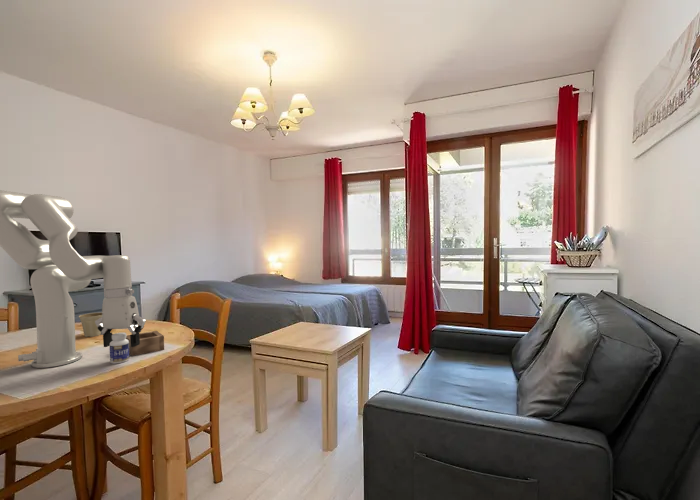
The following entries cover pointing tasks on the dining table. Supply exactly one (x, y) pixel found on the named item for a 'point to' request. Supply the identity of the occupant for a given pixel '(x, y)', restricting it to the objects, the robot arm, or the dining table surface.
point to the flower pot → (90, 324)
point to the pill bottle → (119, 348)
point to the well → (147, 343)
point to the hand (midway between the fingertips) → (121, 345)
